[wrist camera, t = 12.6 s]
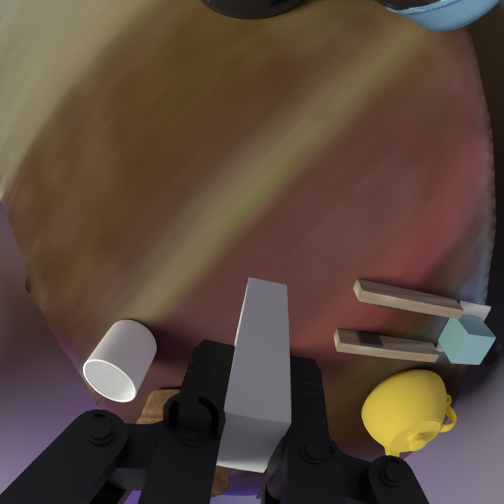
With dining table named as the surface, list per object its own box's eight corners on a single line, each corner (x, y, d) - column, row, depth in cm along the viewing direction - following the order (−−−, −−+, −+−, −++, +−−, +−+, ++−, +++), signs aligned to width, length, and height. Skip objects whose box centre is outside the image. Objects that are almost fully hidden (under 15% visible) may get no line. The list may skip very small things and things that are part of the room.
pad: (460, 300, 41) (461, 301, 40) (490, 306, 41) (491, 307, 40) (434, 349, 44) (434, 350, 44) (464, 352, 44) (465, 353, 44)
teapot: (373, 365, 46) (391, 423, 34) (461, 358, 45) (488, 405, 33) (346, 432, 54) (353, 483, 42) (423, 424, 53) (438, 468, 41)
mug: (89, 322, 47) (58, 360, 37) (144, 314, 45) (117, 358, 35) (111, 360, 50) (87, 400, 40) (166, 356, 48) (146, 402, 38)
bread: (204, 381, 50) (186, 447, 37) (237, 458, 60) (230, 510, 47) (144, 380, 52) (117, 439, 38) (189, 457, 62) (177, 505, 48)
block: (452, 312, 41) (468, 334, 35) (479, 317, 41) (496, 337, 36) (437, 340, 43) (451, 363, 38) (465, 343, 43) (479, 364, 38)
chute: (356, 278, 40) (362, 290, 37) (454, 299, 41) (464, 310, 37) (333, 336, 44) (336, 351, 41) (428, 349, 44) (435, 362, 41)
